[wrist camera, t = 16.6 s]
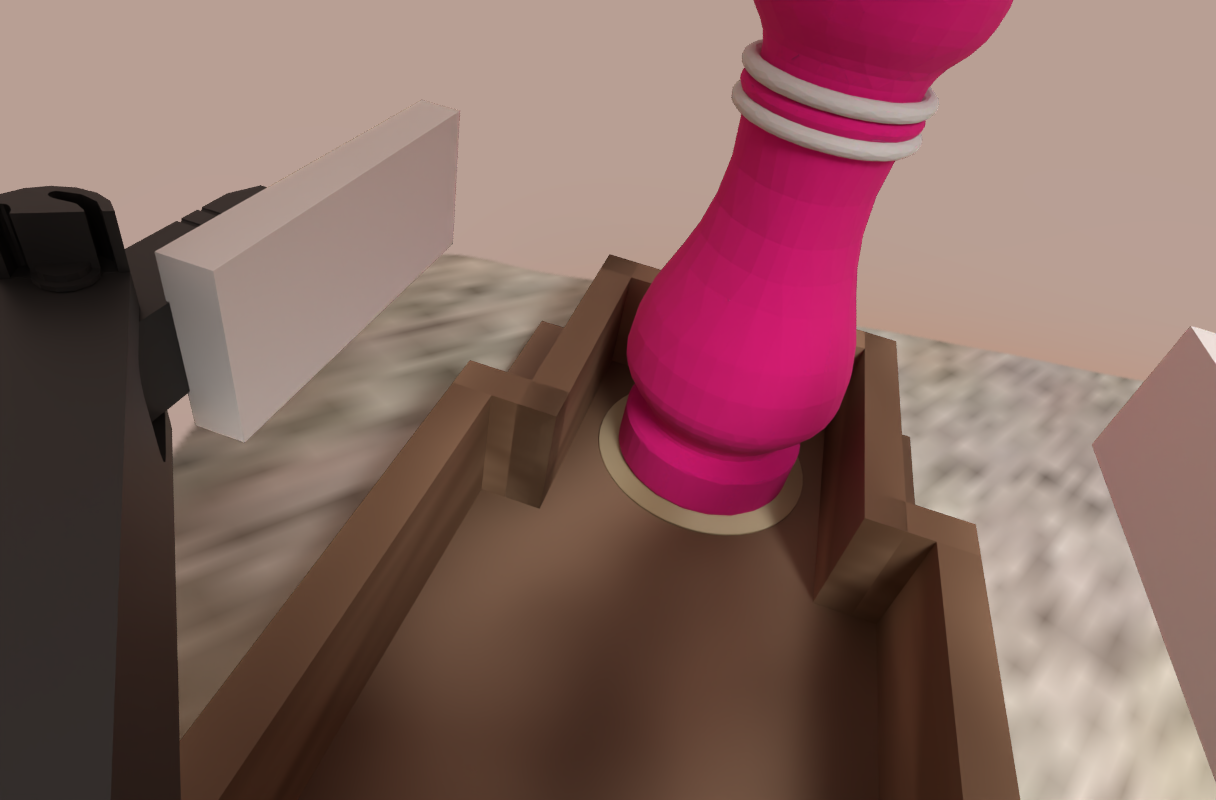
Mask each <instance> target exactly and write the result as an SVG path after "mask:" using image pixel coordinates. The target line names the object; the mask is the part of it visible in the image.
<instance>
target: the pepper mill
mask: <svg viewBox="0 0 1216 800" xmlns="http://www.w3.org/2000/svg"><path fill="white" fill-rule="evenodd" d="M1012 2H1013V0H754V3H755V5H756V8H757V10H758V13H759V16H760V19H761V23H762V27H763V39H762V40H758V41H755V42H753V43H751V44H749V45H748V46H747V47H746V48H745V50H744V52H743V53H742V62H743V65H744V67H745V68H744V69H743V71H742V73H741V77H740V80H739V81H738V82H737V83H736V84H735V85H734V87H733V90H732V100H733V103H734V105H735V106H736V108H737V109H738V110H739V112H740V113H741V119H740V123H739V127H738V133H737V137H736V141H735V146H734V150H733V155H732V157H731V160H730V162H729V165H728V167H727V170H726V172H725V175H724V177H723V180H722V182H721V185H720V187H719V190H718V192H717V194H716V195H715V197H714V199H713V201H712V202H711V204H710V206H709V208H708V209H707V211H706V213H705V215H704V216H703V218H702V220H701V221H700V223H699V224H698V225H697V227H696V228H695V229H694V230H693V232H692V233H691V235H690V236H689V237H688V238H687V240H686V241H685V242H684V244H683V245H682V246H681V247H680V248H679V250H678V251H677V252H676V253H675V255H674V256H673V257H672V258H671V259H670V260H669V262H668V263H667V264H666V265H665V266H664V267H663V269H662V270H661V271H660V272H659V273H658V275H657V276H656V277H655V278H654V280H653V282H652V283H651V285H650V287H649V288H648V290H647V292H646V294H645V295H644V297H643V299H642V300H641V302H640V304H639V307H638V309H637V312H636V315H635V318H634V321H633V324H632V327H631V330H630V333H629V335H628V342H627V353H626V354H627V361H628V366H629V370H630V373H631V376H632V379H633V380H634V382H635V384H634V385H633V387H632V388H631V390H630V392H629V395H628V399H627V402H626V406H625V410H624V414H623V417H622V421H621V425H620V429H619V444H620V448H621V452H622V454H623V456H624V459H625V461H626V463H627V464H628V466H629V467H630V469H631V470H632V472H633V473H634V474H635V476H636V477H637V478H638V479H639V480H640V481H641V482H642V483H643V484H645V485H646V486H647V487H648V488H649V489H650V490H652V491H653V492H654V493H655V494H656V495H658V496H660V497H662V498H664V499H666V500H668V501H670V502H672V503H674V504H675V505H677V506H679V507H681V508H684V509H688V510H692V511H696V512H700V513H704V514H708V515H727V516H732V515H737V514H742V513H747V512H751V511H755V510H757V509H759V508H761V507H763V506H764V505H766V504H768V503H770V502H771V501H772V500H773V499H774V498H776V497H777V495H778V494H779V493H780V491H781V489H782V488H783V486H784V484H785V482H786V480H787V478H788V476H789V474H790V471H791V469H792V467H793V465H794V463H795V461H796V459H797V457H798V454H799V450H800V443H801V442H803V441H806V440H808V439H810V438H812V437H813V436H815V435H816V434H817V433H819V432H820V431H822V430H823V429H824V428H825V427H826V426H827V425H828V424H829V423H830V421H831V420H832V419H833V418H834V416H835V414H836V413H837V411H838V409H839V407H840V405H841V402H842V400H843V397H844V394H845V392H846V389H847V387H848V384H849V381H850V378H851V374H852V369H853V363H854V356H855V350H856V287H857V267H858V261H859V255H860V250H861V244H862V238H863V234H864V231H865V228H866V225H867V222H868V219H869V216H870V213H871V210H872V208H873V204H874V202H875V199H876V196H877V194H878V192H879V190H880V188H881V187H882V185H883V183H884V181H885V179H886V177H887V175H888V173H889V171H890V170H891V168H892V166H893V164H894V162H895V161H896V160H899V159H903V158H906V157H909V156H911V155H913V154H914V153H915V152H917V151H918V150H919V148H920V146H921V144H922V135H921V131H922V130H923V128H924V127H925V120H927V119H929V118H931V117H932V116H933V115H934V114H935V113H936V111H937V109H938V105H939V100H938V97H937V95H936V94H935V92H934V91H933V90H932V89H931V88H930V86H931V85H932V83H933V82H934V81H935V80H936V79H937V78H938V77H939V76H940V75H941V74H942V73H944V72H945V71H946V70H947V69H949V68H950V67H952V66H954V65H955V64H957V63H958V62H960V61H962V60H963V59H965V58H967V57H968V56H970V55H971V54H972V53H974V52H975V51H976V50H977V49H978V48H979V47H981V45H983V44H984V43H985V42H986V41H987V40H988V39H989V37H990V36H991V35H992V34H993V33H994V32H995V30H996V29H997V28H998V26H999V25H1000V23H1001V21H1002V20H1003V18H1004V17H1005V15H1006V13H1007V12H1008V10H1009V9H1010V7H1011V4H1012Z"/></svg>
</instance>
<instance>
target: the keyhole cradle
mask: <svg viewBox="0 0 1216 800" xmlns="http://www.w3.org/2000/svg"><path fill="white" fill-rule="evenodd" d="M660 271H661V270H659V269H656V268H653V267H650V266H646V265H643V264H639V263H636V262H633V261H629V260H626V259H623V258H620V257H617V256H613V255H609V256H608V258H607V259H606V261H605V263H604V264H603V266H602V268H601V270H600V271H599V272H598V274H597V276H596V277H595V279H594V280H593V282H592V284H591V285H590V287H589V289H588V290H587V292H586V293H585V295H584V297H583V298H582V300H581V301H580V303H579V305H578V306H577V308H576V310H575V311H574V313H573V314H572V316H571V318H570V319H569V321H568V323H567V324H566V326H565V327H564V328H563V327H560V326H557V325H554V324H551V323H547V322H544V321H542V322H541V323H540V325H539V326H538V328H537V329H536V331H535V332H534V334H533V335H532V336H531V338H530V339H529V341H528V342H527V344H526V345H525V347H524V348H523V350H522V351H521V353H520V354H519V356H518V357H517V359H516V360H515V362H514V363H513V365H512V366H511V368H510V369H509V371H508V372H505V371H502V370H498V369H495V368H492V367H489V366H486V365H483V364H480V363H477V362H474V361H471V360H470V361H469V362H468V363H467V365H466V366H465V367H464V369H463V370H462V371H461V373H460V374H459V375H458V377H457V378H456V379H455V380H454V382H453V383H452V384H451V386H450V387H449V388H448V390H447V391H446V392H445V394H444V395H443V396H442V398H441V399H440V400H439V401H438V403H437V404H436V405H435V407H434V408H433V409H432V411H431V412H430V413H429V415H428V416H427V417H426V419H425V420H424V421H423V422H422V424H421V425H420V426H419V428H418V429H417V430H416V432H415V433H414V434H413V436H412V437H411V438H410V440H409V441H408V442H407V443H406V445H405V446H404V447H403V449H402V450H401V451H400V453H399V454H398V455H397V457H396V458H395V459H394V461H393V462H392V463H391V465H390V466H389V467H388V468H387V470H386V471H385V472H384V474H383V475H382V476H381V478H380V479H379V480H378V482H377V483H376V484H375V486H374V487H373V488H372V489H371V491H370V492H369V493H368V495H367V496H366V497H365V499H364V500H363V501H362V503H361V504H360V505H359V507H358V508H357V509H356V510H355V512H354V513H353V514H352V516H351V517H350V518H349V520H348V521H347V522H346V524H345V525H344V526H343V528H342V529H341V530H340V531H339V533H338V534H337V535H336V537H335V538H334V539H333V541H332V542H331V543H330V545H329V546H328V547H327V549H326V550H325V551H324V552H323V554H322V555H321V556H320V558H319V559H318V560H317V562H316V563H315V564H314V566H313V567H312V568H311V570H310V571H309V572H308V573H307V575H306V576H305V577H304V579H303V580H302V581H301V583H300V584H299V585H298V587H297V588H296V589H295V591H294V592H293V593H292V594H291V596H290V597H289V598H288V600H287V601H286V602H285V604H284V605H283V606H282V608H281V609H280V610H279V612H278V613H277V614H276V616H275V617H274V618H273V619H272V621H271V622H270V623H269V625H268V626H267V627H266V629H265V630H264V631H263V633H262V634H261V635H260V637H259V638H258V639H257V640H256V642H255V643H254V644H253V646H252V647H251V648H250V650H249V651H248V652H247V654H246V655H245V656H244V658H243V659H242V660H241V661H240V663H239V664H238V665H237V667H236V668H235V669H234V671H233V672H232V673H231V675H230V676H229V677H228V679H227V680H226V681H225V682H224V684H223V685H222V686H221V688H220V689H219V690H218V692H217V693H216V694H215V696H214V697H213V698H212V700H211V701H210V702H209V703H208V705H207V706H206V707H205V709H204V710H203V711H202V713H201V714H200V715H199V717H198V718H197V719H196V721H195V722H194V723H193V724H192V726H191V727H190V728H189V730H188V731H187V732H186V734H185V735H184V736H183V738H182V739H181V740H180V782H181V800H1020V795H1019V789H1018V783H1017V777H1016V771H1015V764H1014V758H1013V752H1012V746H1011V740H1010V733H1009V727H1008V721H1007V715H1006V709H1005V703H1004V696H1003V690H1002V684H1001V678H1000V672H999V665H998V659H997V653H996V647H995V641H994V634H993V628H992V622H991V616H990V610H989V604H988V597H987V591H986V585H985V579H984V573H983V566H982V560H981V554H980V548H979V542H978V535H977V529H976V525H975V524H972V523H969V522H966V521H963V520H960V519H957V518H954V517H951V516H948V515H945V514H942V513H939V512H935V511H932V510H929V509H926V508H923V507H920V506H917V505H915V499H914V486H913V473H912V459H911V446H910V437H908V436H905V435H902V429H901V413H900V397H899V381H898V364H897V348H896V341H893V340H890V339H887V338H883V337H880V336H877V335H873V334H870V333H867V332H864V331H860V330H857V329H856V350H855V356H854V363H853V369H852V374H851V378H850V381H849V384H848V387H847V389H846V392H845V394H844V397H843V400H842V402H841V405H840V407H839V409H838V411H837V413H836V414H835V416H834V418H833V419H832V420H831V421H830V423H829V424H828V425H827V426H826V427H825V428H824V429H823V430H822V431H820V432H819V433H817V434H816V435H815V436H813V437H812V438H810V439H808V440H806V441H803V442H801V443H800V450H799V454H798V457H797V459H796V461H795V463H794V465H793V467H792V469H791V471H790V474H789V476H788V478H787V480H786V482H785V484H784V486H783V488H782V489H781V491H780V493H779V494H778V495H777V497H776V498H774V499H773V500H772V501H771V502H770V503H768V504H766V505H764V506H763V507H761V508H759V509H757V510H755V511H751V512H747V513H742V514H737V515H732V516H727V515H708V514H704V513H700V512H696V511H692V510H688V509H684V508H681V507H679V506H677V505H675V504H674V503H672V502H670V501H668V500H666V499H664V498H662V497H660V496H658V495H656V494H655V493H654V492H653V491H652V490H650V489H649V488H648V487H647V486H646V485H645V484H643V483H642V482H641V481H640V480H639V479H638V478H637V477H636V476H635V474H634V473H633V472H632V470H631V469H630V467H629V466H628V464H627V463H626V461H625V459H624V456H623V454H622V452H621V448H620V444H619V429H620V425H621V421H622V417H623V414H624V410H625V406H626V402H627V399H628V395H629V392H630V390H631V388H632V387H633V385H634V384H635V382H634V380H633V379H632V376H631V373H630V370H629V366H628V361H627V354H626V353H627V342H628V335H629V333H630V330H631V327H632V324H633V321H634V318H635V315H636V312H637V309H638V307H639V304H640V302H641V300H642V299H643V297H644V295H645V294H646V292H647V290H648V288H649V287H650V285H651V283H652V282H653V280H654V278H655V277H656V276H657V275H658V273H659V272H660Z"/></svg>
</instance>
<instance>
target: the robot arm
mask: <svg viewBox="0 0 1216 800" xmlns="http://www.w3.org/2000/svg"><path fill="white" fill-rule="evenodd" d="M459 120H460V111H459V110H456V109H452V108H449V107H445V106H441V105H438V104H435V103H432V102H428V101H425V100H420V101H418V102H417V103H415V104H413V105H411V106H410V107H408V108H406V109H404V110H403V111H401V112H399V113H397V114H396V115H394V116H392V117H391V118H388V119H387V120H385V121H383V122H381V123H380V124H378V125H376V126H374V127H373V128H371V129H369V130H367V131H366V132H364V133H362V134H361V135H359V136H357V137H355V138H353V139H352V140H350V141H348V142H346V143H345V144H343V145H341V146H339V147H338V148H336V149H334V150H332V151H331V152H329V153H327V154H325V155H324V156H322V157H320V158H318V159H316V160H315V161H313V162H311V163H310V164H308V165H306V166H304V167H302V168H301V169H299V170H297V171H295V172H294V173H292V174H290V175H288V176H287V177H285V178H283V179H281V180H280V181H278V182H276V183H274V184H273V185H271V186H269V187H264V186H261V185H260V186H257V187H252V188H248V189H244V190H240V191H236V192H232V193H228V194H226V195H224V196H222V197H220V198H218V199H216V200H214V201H213V202H211V203H209V204H207V205H205V206H203V207H202V210H201V211H199V210H196V211H194V212H192V213H190V214H189V215H187V216H185V217H183V218H182V221H181V222H178V221H176V222H174V223H172V224H170V225H168V226H167V227H165V228H163V229H161V230H159V231H157V232H155V233H154V234H152V235H150V236H148V237H146V238H144V239H143V240H141V241H139V242H137V243H135V244H134V245H132V246H130V247H128V248H126V249H124V245H123V242H122V238H121V234H120V230H119V227H118V223H117V219H116V215H115V211H114V209H113V206H112V204H111V202H110V200H108V199H106V198H104V197H103V196H101V195H100V194H98V193H95V192H92V191H87V190H84V189H80V188H75V187H74V188H73V187H58V186H45V187H34V188H23V189H19V190H16V191H11V192H7V193H3V194H0V800H181V782H180V741H179V701H178V660H177V619H176V578H175V538H174V497H173V456H172V428H171V423H170V419H169V416H168V412H167V409H169V408H170V407H171V406H172V405H174V404H175V403H176V402H177V401H179V400H180V399H181V398H182V397H183V396H185V395H186V394H187V393H188V396H189V400H190V404H191V408H192V413H193V417H194V421H195V425H196V426H199V427H202V428H204V429H207V430H210V431H213V432H216V433H218V434H221V435H224V436H227V437H230V438H232V439H235V440H238V441H241V442H244V443H245V442H246V441H247V440H248V439H249V438H250V437H251V436H252V435H253V434H254V433H255V432H256V431H257V430H258V429H259V428H260V427H262V426H263V425H264V424H265V423H266V422H267V421H268V420H269V419H270V418H271V417H272V416H273V415H274V414H275V413H276V412H277V411H278V410H279V409H280V408H281V407H282V406H283V405H285V404H286V403H287V402H288V401H289V400H290V399H291V398H292V397H293V396H294V395H295V394H296V393H297V392H298V391H299V390H300V389H301V388H302V387H303V386H304V385H305V384H307V383H308V382H309V381H310V380H311V379H312V378H313V377H314V376H315V375H316V374H317V373H318V372H319V371H320V370H321V369H322V368H323V367H324V366H325V365H326V364H327V363H328V362H330V361H331V360H332V359H333V358H334V357H335V356H336V355H337V354H338V353H339V352H340V351H341V350H342V349H343V348H344V347H345V346H346V345H347V344H348V343H349V342H350V341H352V340H353V339H354V338H355V337H356V336H357V335H358V334H359V333H360V332H361V331H362V330H363V329H364V328H365V327H366V326H367V325H368V324H369V323H370V322H371V321H372V320H373V319H375V318H376V317H377V316H378V315H379V314H380V313H381V312H382V311H383V310H384V309H385V308H386V307H387V306H388V305H389V304H390V303H391V302H392V301H393V300H394V299H395V298H396V297H398V296H399V295H400V294H401V293H402V292H403V291H404V290H405V289H406V288H407V287H408V286H409V285H410V284H411V283H412V282H413V281H414V280H415V279H416V278H417V277H418V276H420V275H421V274H422V273H423V272H424V271H425V270H426V269H427V268H428V267H429V266H430V265H431V264H432V263H433V262H434V261H435V260H436V259H437V258H438V257H439V256H440V255H441V254H443V253H444V252H445V251H446V250H447V249H448V248H449V247H450V246H451V245H452V244H453V231H454V212H455V194H456V174H457V157H458V138H459ZM1092 446H1093V449H1094V452H1095V454H1096V457H1097V460H1098V463H1099V465H1100V468H1101V471H1102V474H1103V476H1104V479H1105V482H1106V484H1107V487H1108V490H1109V493H1110V495H1111V498H1112V501H1113V504H1114V506H1115V509H1116V512H1117V514H1118V517H1119V520H1120V523H1121V525H1122V528H1123V531H1124V534H1125V536H1126V539H1127V542H1128V544H1129V547H1130V550H1131V553H1132V555H1133V558H1134V561H1135V564H1136V566H1137V569H1138V572H1139V574H1140V577H1141V580H1142V583H1143V585H1144V588H1145V591H1146V593H1147V596H1148V599H1149V602H1150V604H1151V607H1152V610H1153V613H1154V615H1155V618H1156V621H1157V623H1158V626H1159V629H1160V632H1161V634H1162V637H1163V640H1164V643H1165V645H1166V648H1167V651H1168V653H1169V656H1170V659H1171V662H1172V664H1173V667H1174V670H1175V673H1176V675H1177V678H1178V681H1179V683H1180V686H1181V689H1182V692H1183V694H1184V697H1185V700H1186V703H1187V705H1188V708H1189V711H1190V713H1191V716H1192V719H1193V722H1194V724H1195V727H1196V730H1197V733H1198V735H1199V738H1200V741H1201V743H1202V746H1203V749H1204V752H1205V754H1206V757H1207V760H1208V763H1209V765H1210V768H1211V771H1212V773H1213V776H1214V779H1215V782H1216V333H1213V332H1210V331H1206V330H1203V329H1200V328H1196V327H1193V326H1190V327H1189V328H1188V330H1187V331H1186V332H1185V333H1184V334H1183V336H1182V337H1181V338H1180V339H1179V340H1178V342H1177V343H1176V344H1175V345H1174V346H1173V348H1172V349H1171V350H1170V351H1169V352H1168V354H1167V355H1166V356H1165V357H1164V358H1163V360H1162V361H1161V362H1160V363H1159V365H1158V366H1157V367H1156V368H1155V369H1154V371H1153V372H1152V373H1151V374H1150V375H1149V376H1148V378H1147V379H1146V380H1145V381H1144V382H1143V384H1142V385H1141V386H1140V387H1139V388H1138V390H1137V391H1136V392H1135V393H1134V394H1133V396H1132V397H1131V398H1130V399H1129V401H1128V402H1127V403H1126V404H1125V405H1124V407H1123V408H1122V409H1121V410H1120V411H1119V413H1118V414H1117V415H1116V416H1115V417H1114V419H1113V420H1112V421H1111V422H1110V423H1109V425H1108V426H1107V427H1106V428H1105V429H1104V431H1103V432H1102V433H1101V434H1100V435H1099V437H1098V438H1097V439H1096V440H1095V441H1094V443H1093V444H1092Z"/></svg>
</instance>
